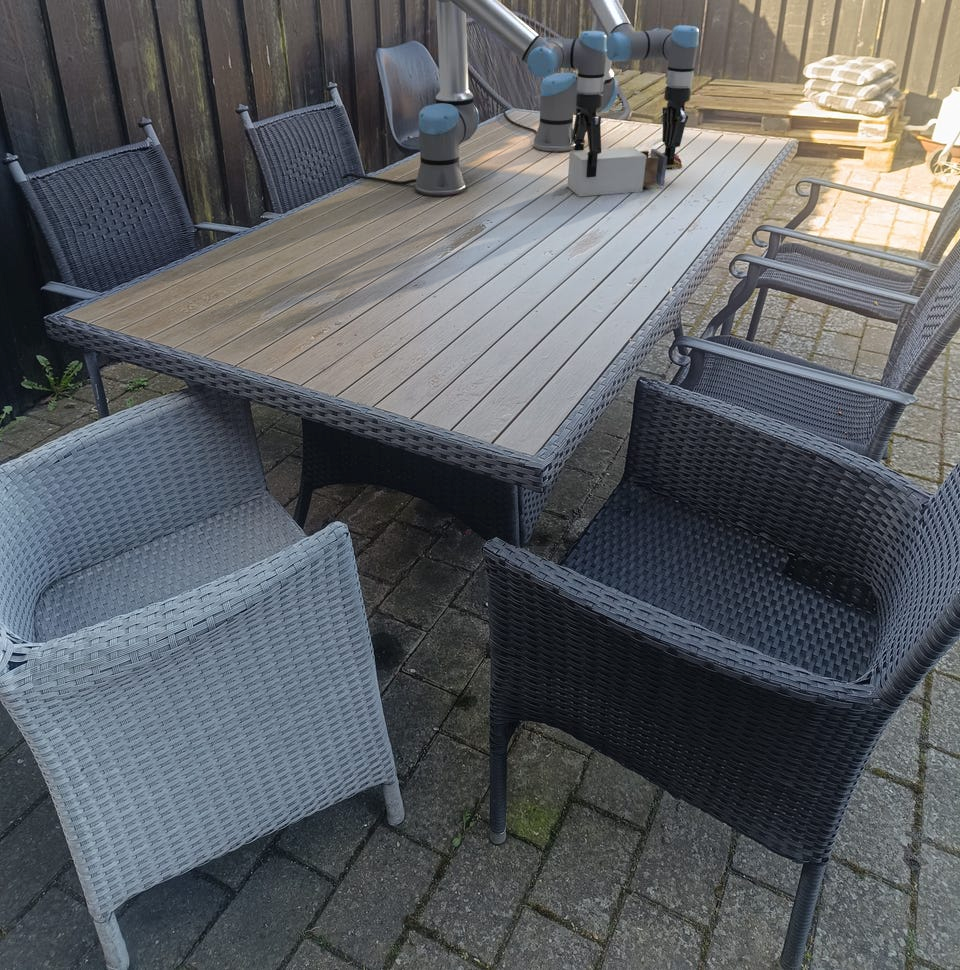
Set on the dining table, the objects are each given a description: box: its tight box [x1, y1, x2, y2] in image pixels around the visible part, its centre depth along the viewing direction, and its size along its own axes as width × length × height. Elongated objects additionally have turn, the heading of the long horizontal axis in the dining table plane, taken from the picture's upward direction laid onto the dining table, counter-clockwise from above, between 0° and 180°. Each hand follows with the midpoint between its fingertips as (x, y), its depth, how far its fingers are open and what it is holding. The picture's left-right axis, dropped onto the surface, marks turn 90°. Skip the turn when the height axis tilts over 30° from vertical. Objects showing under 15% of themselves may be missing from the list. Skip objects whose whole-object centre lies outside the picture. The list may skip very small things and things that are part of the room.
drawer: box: [639, 148, 683, 187], centre depth 258 cm, size 26×9×9 cm, turn 105°
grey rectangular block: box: [567, 146, 646, 197], centre depth 256 cm, size 20×10×11 cm, turn 105°
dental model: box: [661, 151, 682, 164], centre depth 279 cm, size 6×4×8 cm
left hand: (584, 171), depth 254 cm, fingers closed on grey rectangular block, 10 cm apart
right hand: (667, 168), depth 261 cm, fingers closed
